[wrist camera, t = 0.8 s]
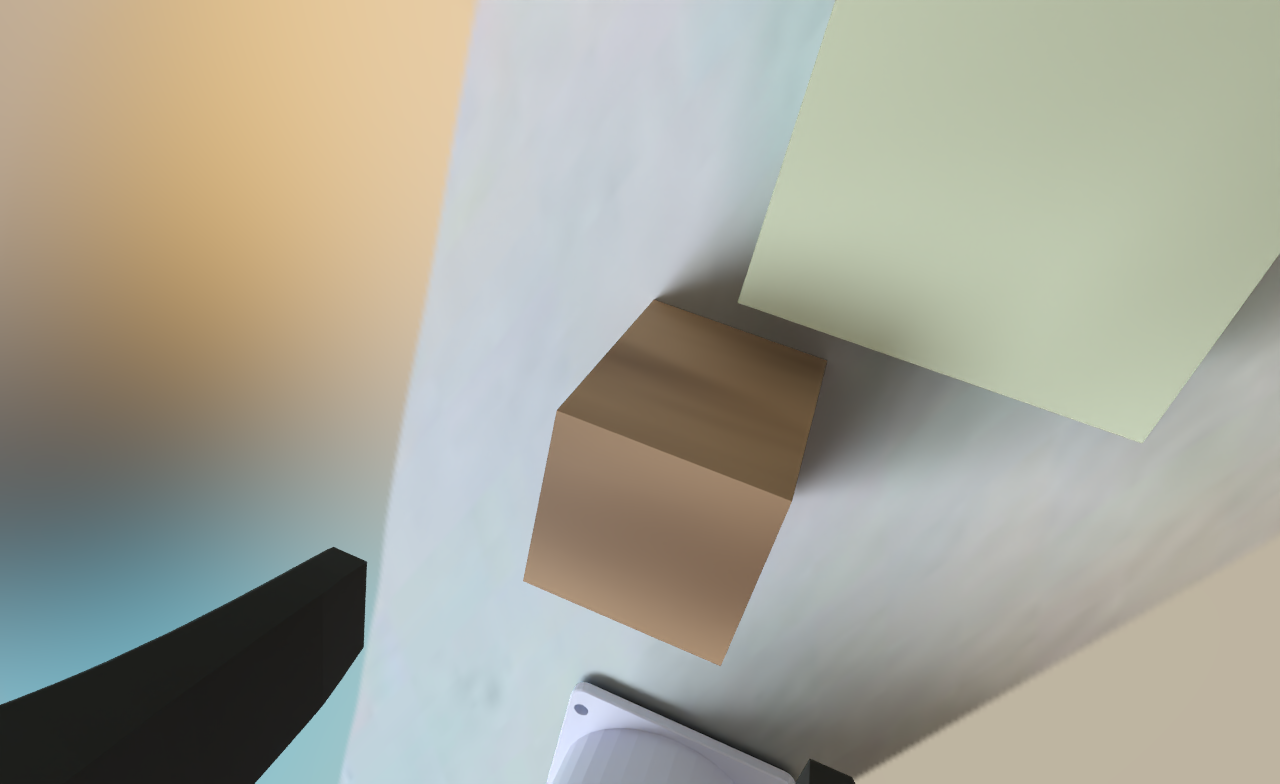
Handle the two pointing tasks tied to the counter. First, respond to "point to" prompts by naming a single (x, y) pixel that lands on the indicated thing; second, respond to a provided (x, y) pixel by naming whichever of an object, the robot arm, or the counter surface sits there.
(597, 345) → the counter surface
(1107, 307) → the sage block
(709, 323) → the walnut block
